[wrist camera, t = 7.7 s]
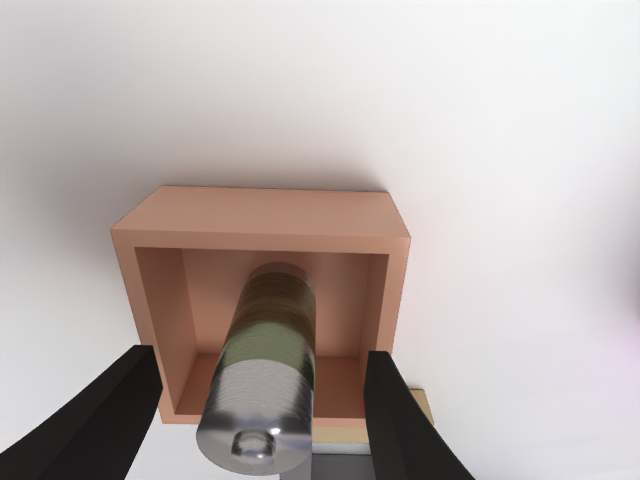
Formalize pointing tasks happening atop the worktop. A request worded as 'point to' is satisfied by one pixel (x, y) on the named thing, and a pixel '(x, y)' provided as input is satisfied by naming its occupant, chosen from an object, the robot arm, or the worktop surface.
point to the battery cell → (264, 377)
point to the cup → (237, 264)
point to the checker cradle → (343, 470)
